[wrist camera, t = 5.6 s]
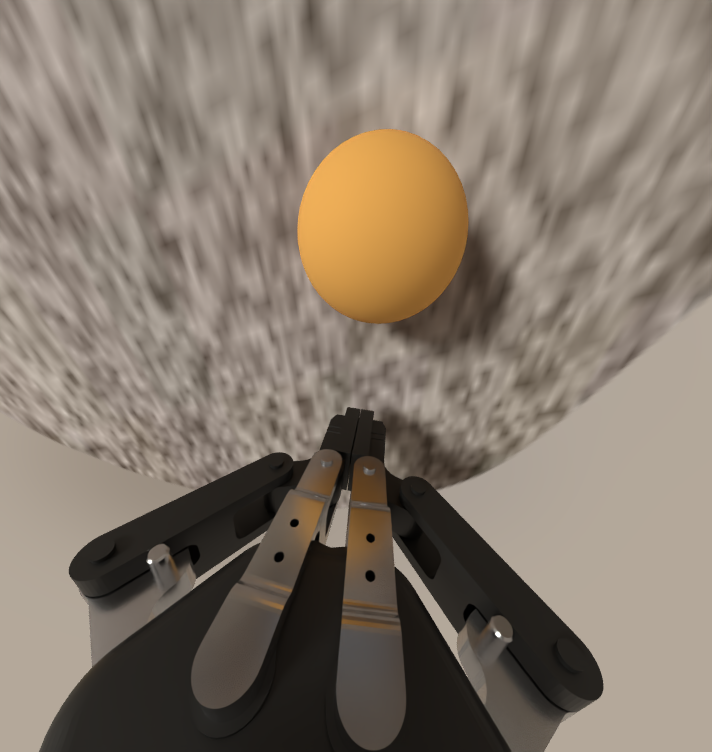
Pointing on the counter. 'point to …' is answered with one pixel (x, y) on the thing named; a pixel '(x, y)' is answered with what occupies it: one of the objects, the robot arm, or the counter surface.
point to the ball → (382, 226)
